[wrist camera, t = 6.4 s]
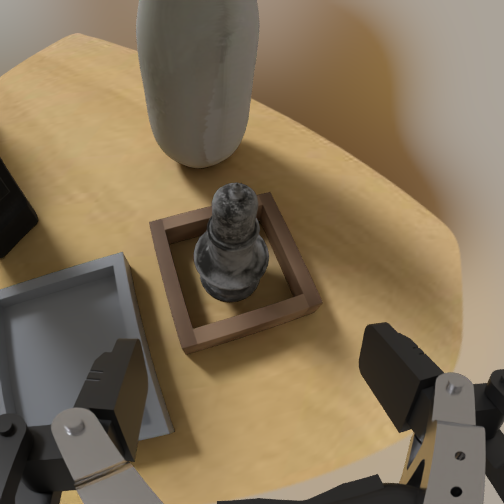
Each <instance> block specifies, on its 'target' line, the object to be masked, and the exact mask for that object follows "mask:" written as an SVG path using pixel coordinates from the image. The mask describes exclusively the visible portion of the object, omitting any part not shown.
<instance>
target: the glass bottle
mask: <svg viewBox="0 0 504 504" xmlns="http://www.w3.org/2000/svg"><path fill="white" fill-rule="evenodd" d="M136 36H137V37H136V38H137V49H138V57H139V64H140V70H141V75H142V81H143V86H144V92H145V98H146V104H147V110H148V116H149V121H150V125H151V129H152V132H153V134H154V137H155V139H156V141H157V143H158V145H159V146H160V148H161V149H162V150H163V151H164V152H165V153H166V154H167V155H168V156H169V157H170V158H172V159H173V160H175V161H177V162H178V163H180V164H183V165H185V166H188V167H193V168H205V167H209V166H212V165H216V164H218V163H219V162H221V161H223V160H225V159H227V158H228V157H230V156H231V155H232V154H233V153H234V151H235V150H236V149H237V147H238V146H239V144H240V142H241V140H242V138H243V136H244V133H245V130H246V127H247V123H248V117H249V109H250V101H251V92H252V84H253V77H254V70H255V64H256V56H257V47H258V38H259V13H258V5H257V0H139V5H138V13H137V21H136Z"/></svg>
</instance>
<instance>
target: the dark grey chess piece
mask: <svg viewBox="0 0 504 504" xmlns="http://www.w3.org/2000/svg"><path fill="white" fill-rule="evenodd" d="M257 210H258V199H257V196H256V194H255V192H254V191H253V190H252V189H251V188H250V187H248V186H247V185H244V184H242V183H230V184H227V185H225V186H223V187H221V188H220V189H218V190H217V191H216V193H215V194H214V197H213V200H212V216H211V218H210V219H209V221H208V224H207V231H206V232H205V233H204V234H203V235H202V236H201V237H200V238H199V240H198V242H197V243H196V246H195V250H194V263H195V266H196V269H197V271H198V273H199V274H200V279H201V282H202V285H203V287H204V288H205V290H206V291H207V293H209V294H210V295H211V296H212V297H214V298H216V299H218V300H220V301H225V302H237V301H240V300H243V299H245V298H247V297H248V296H250V295H251V294H252V293H253V292H254V291H255V290H256V288H257V286H258V284H259V281H260V278H261V277H262V276H263V275H264V273H265V271H266V269H267V266H268V261H269V253H268V248H267V246H266V244H265V241H264V240H263V239H262V237H261V236H260V235H259V231H260V227H259V222H258V220H257V218H256V215H257Z"/></svg>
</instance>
